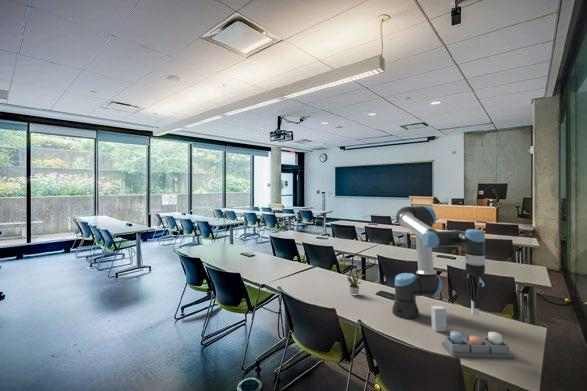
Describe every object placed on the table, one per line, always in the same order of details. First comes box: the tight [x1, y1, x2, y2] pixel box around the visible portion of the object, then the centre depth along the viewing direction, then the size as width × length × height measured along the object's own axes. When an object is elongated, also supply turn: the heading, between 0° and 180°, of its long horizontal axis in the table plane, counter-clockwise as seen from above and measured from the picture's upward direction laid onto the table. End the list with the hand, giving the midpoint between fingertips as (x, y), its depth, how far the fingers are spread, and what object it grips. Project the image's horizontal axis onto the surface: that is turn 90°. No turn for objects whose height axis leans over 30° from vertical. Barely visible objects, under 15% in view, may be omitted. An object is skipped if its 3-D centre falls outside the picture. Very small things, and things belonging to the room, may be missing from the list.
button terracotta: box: [468, 335, 483, 345], centre depth 131 cm, size 5×5×4 cm
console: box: [441, 336, 514, 359], centre depth 131 cm, size 10×26×4 cm, turn 86°
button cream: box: [487, 331, 503, 345], centre depth 130 cm, size 5×5×4 cm
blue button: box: [449, 330, 464, 344], centre depth 132 cm, size 5×5×4 cm
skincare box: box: [430, 305, 447, 333], centre depth 151 cm, size 6×4×12 cm
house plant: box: [346, 272, 364, 295], centre depth 205 cm, size 14×14×16 cm
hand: (475, 314), depth 131 cm, fingers closed
